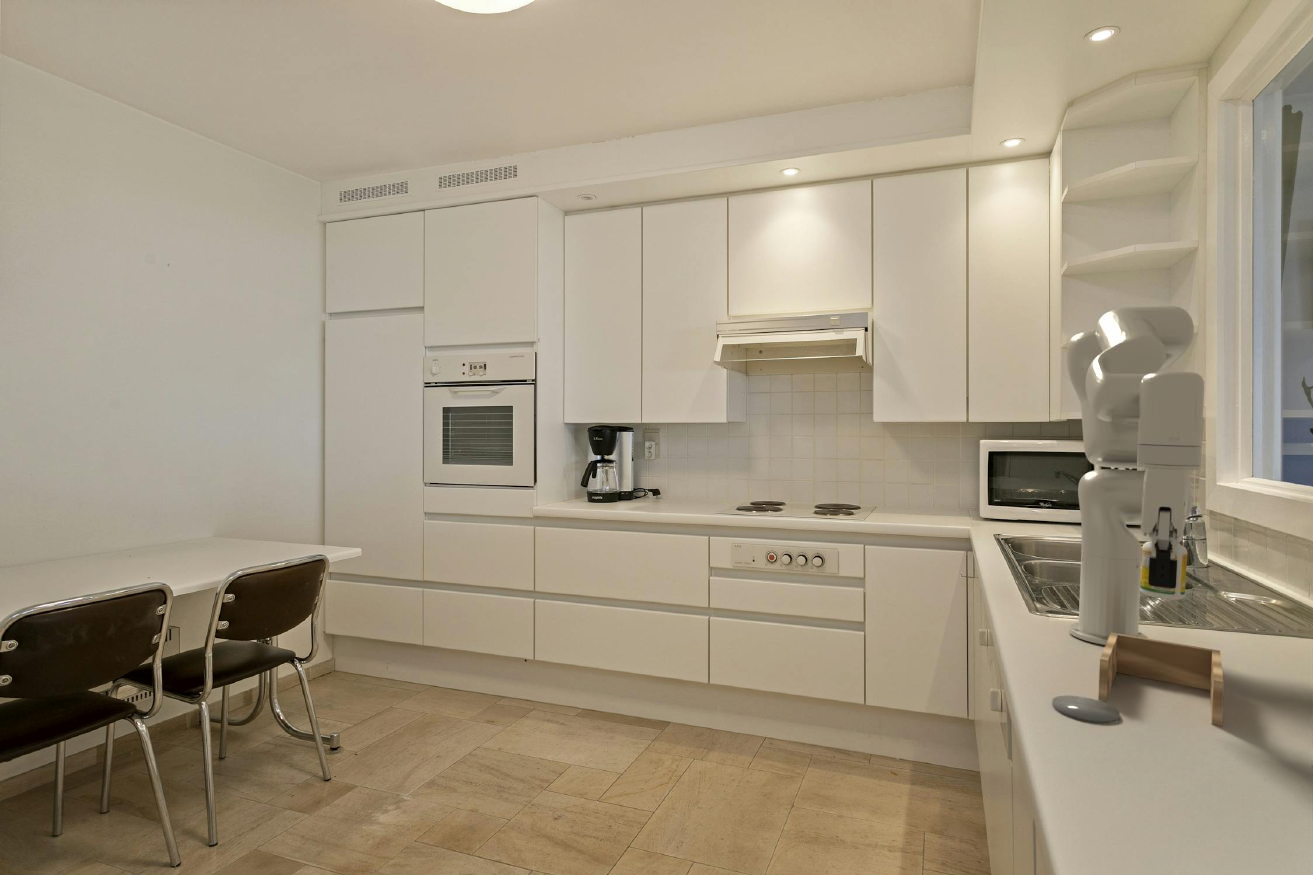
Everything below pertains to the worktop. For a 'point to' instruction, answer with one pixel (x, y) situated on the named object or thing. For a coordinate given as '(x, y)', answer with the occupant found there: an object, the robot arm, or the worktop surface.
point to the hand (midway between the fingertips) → (1162, 581)
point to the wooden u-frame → (1163, 666)
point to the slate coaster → (1086, 709)
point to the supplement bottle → (1181, 572)
